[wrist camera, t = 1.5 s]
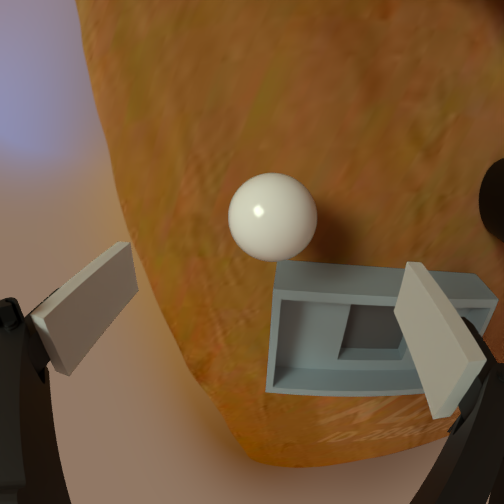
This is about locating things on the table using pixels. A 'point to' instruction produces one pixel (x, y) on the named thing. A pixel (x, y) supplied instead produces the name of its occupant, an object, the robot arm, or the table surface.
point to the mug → (493, 199)
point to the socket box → (352, 328)
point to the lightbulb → (272, 217)
